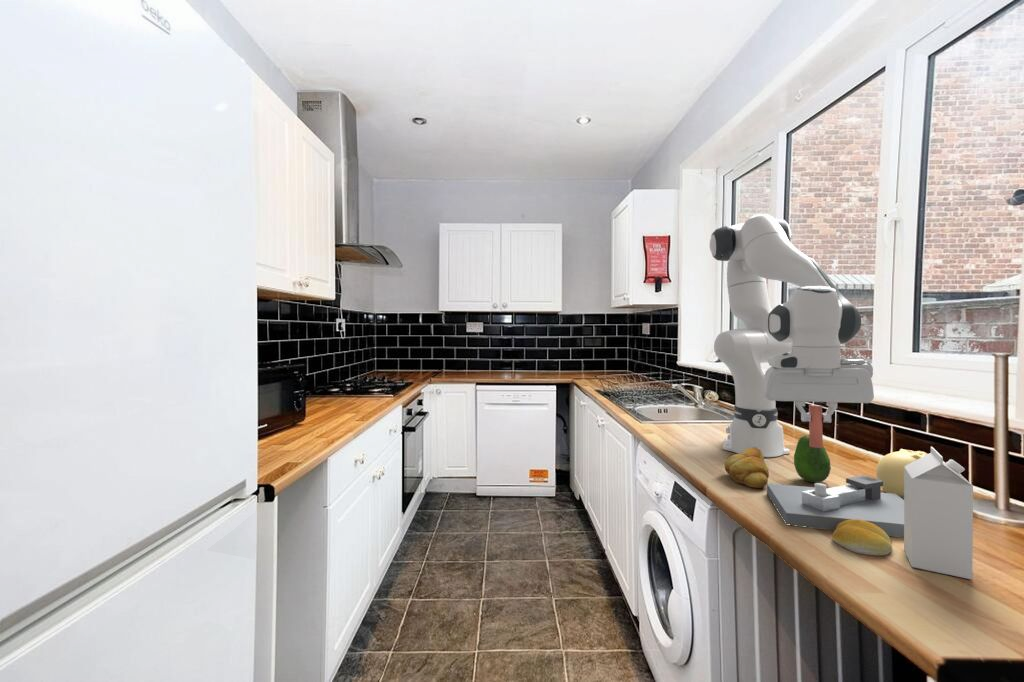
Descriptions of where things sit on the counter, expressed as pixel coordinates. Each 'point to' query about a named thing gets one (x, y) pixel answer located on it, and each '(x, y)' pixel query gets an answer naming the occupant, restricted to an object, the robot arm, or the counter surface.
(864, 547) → the bread roll
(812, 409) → the peg
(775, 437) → the robot arm
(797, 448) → the avocado
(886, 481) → the sculpture
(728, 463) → the bread roll
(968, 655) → the counter surface
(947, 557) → the milk carton
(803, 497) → the link
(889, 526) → the board
